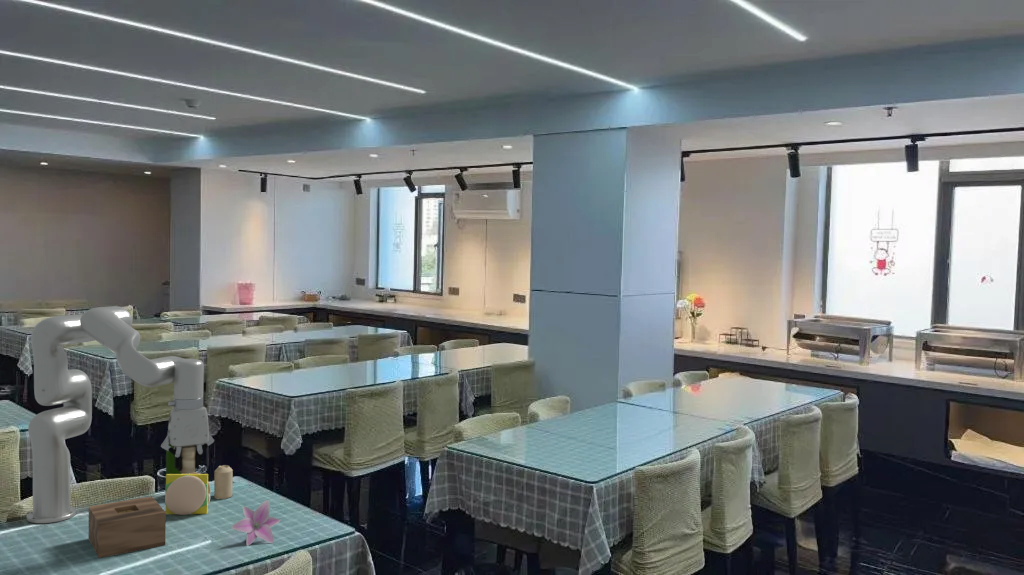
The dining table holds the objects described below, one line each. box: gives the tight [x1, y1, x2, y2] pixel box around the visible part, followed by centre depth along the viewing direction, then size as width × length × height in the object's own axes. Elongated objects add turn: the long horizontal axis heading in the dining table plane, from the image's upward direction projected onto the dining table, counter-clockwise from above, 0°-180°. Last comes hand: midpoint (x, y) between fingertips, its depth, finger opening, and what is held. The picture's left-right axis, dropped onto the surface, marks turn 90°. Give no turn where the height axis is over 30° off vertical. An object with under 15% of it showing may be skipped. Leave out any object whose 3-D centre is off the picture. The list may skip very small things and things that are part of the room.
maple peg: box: [180, 445, 196, 473], centre depth 213 cm, size 4×4×7 cm
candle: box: [213, 464, 234, 500], centre depth 247 cm, size 6×6×10 cm
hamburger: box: [164, 471, 212, 516], centre depth 232 cm, size 12×8×12 cm
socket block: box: [88, 496, 167, 559], centre depth 207 cm, size 16×16×9 cm
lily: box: [230, 499, 281, 547], centre depth 211 cm, size 12×12×10 cm
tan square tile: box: [117, 509, 135, 514], centre depth 207 cm, size 4×4×1 cm
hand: (187, 468), depth 213 cm, fingers closed on maple peg, 4 cm apart
